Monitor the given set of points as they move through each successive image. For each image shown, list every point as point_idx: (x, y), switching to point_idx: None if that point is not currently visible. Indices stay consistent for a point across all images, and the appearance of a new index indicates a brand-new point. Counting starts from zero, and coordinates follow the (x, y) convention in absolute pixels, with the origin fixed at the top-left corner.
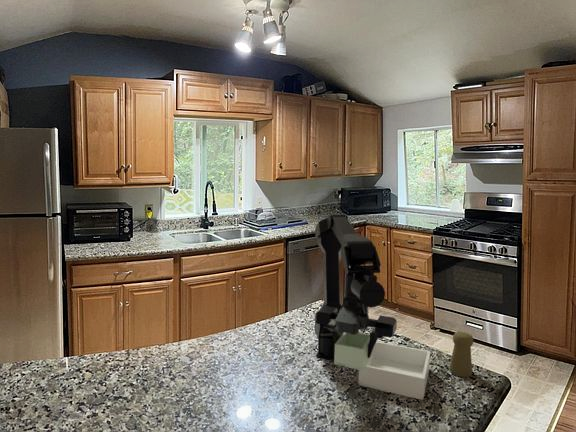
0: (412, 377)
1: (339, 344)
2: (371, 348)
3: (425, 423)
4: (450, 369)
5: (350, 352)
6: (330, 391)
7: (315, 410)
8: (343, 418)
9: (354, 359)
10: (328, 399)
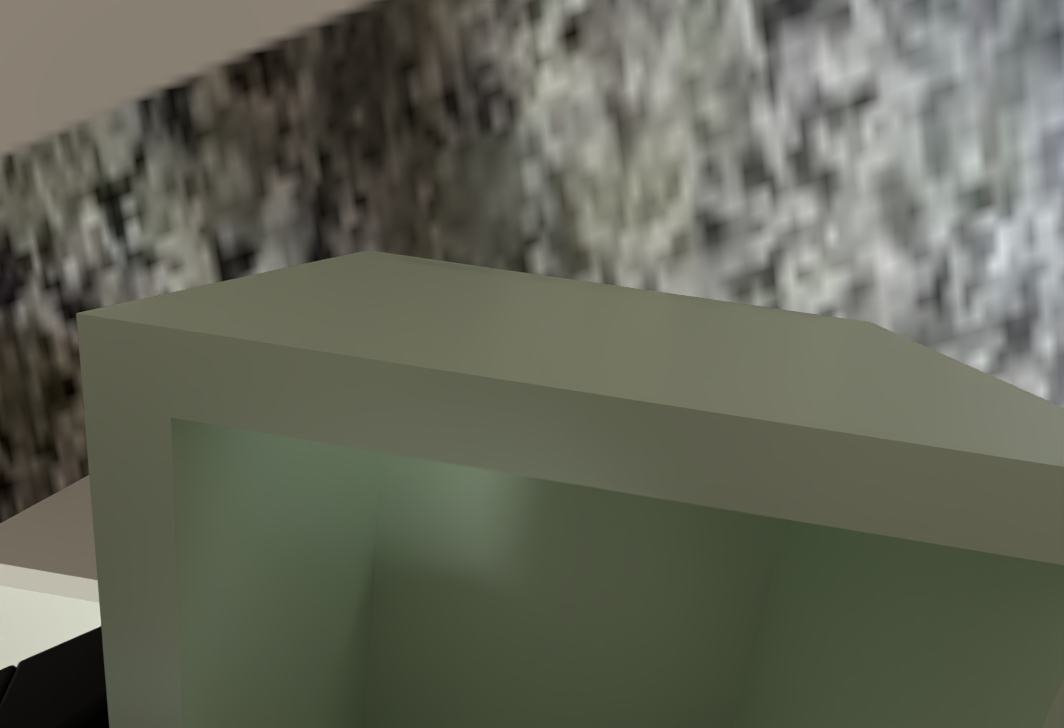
0: (50, 563)
1: (1051, 516)
2: (92, 642)
3: (39, 193)
4: None
5: (583, 345)
6: None
7: (863, 77)
8: (608, 43)
9: (490, 297)
10: (764, 279)
